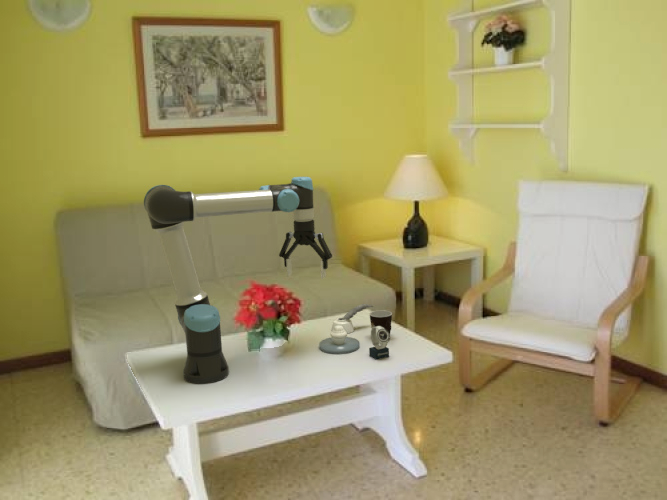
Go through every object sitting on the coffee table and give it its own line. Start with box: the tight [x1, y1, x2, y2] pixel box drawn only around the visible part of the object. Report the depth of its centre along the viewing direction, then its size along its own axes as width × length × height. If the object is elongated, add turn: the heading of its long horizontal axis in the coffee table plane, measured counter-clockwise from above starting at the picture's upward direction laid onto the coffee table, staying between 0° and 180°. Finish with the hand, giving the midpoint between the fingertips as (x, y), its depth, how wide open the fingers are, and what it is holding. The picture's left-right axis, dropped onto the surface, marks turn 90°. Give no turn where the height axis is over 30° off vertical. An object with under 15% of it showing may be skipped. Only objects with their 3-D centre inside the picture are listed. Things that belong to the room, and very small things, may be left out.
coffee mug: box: [369, 309, 393, 341], centre depth 264 cm, size 12×9×10 cm
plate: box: [318, 336, 361, 355], centre depth 259 cm, size 15×15×2 cm
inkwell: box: [330, 303, 374, 335], centre depth 278 cm, size 9×18×10 cm, turn 109°
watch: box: [368, 326, 391, 361], centre depth 247 cm, size 6×8×11 cm
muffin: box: [330, 325, 348, 345], centre depth 258 cm, size 6×6×7 cm
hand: (306, 276), depth 257 cm, fingers open, 13 cm apart
